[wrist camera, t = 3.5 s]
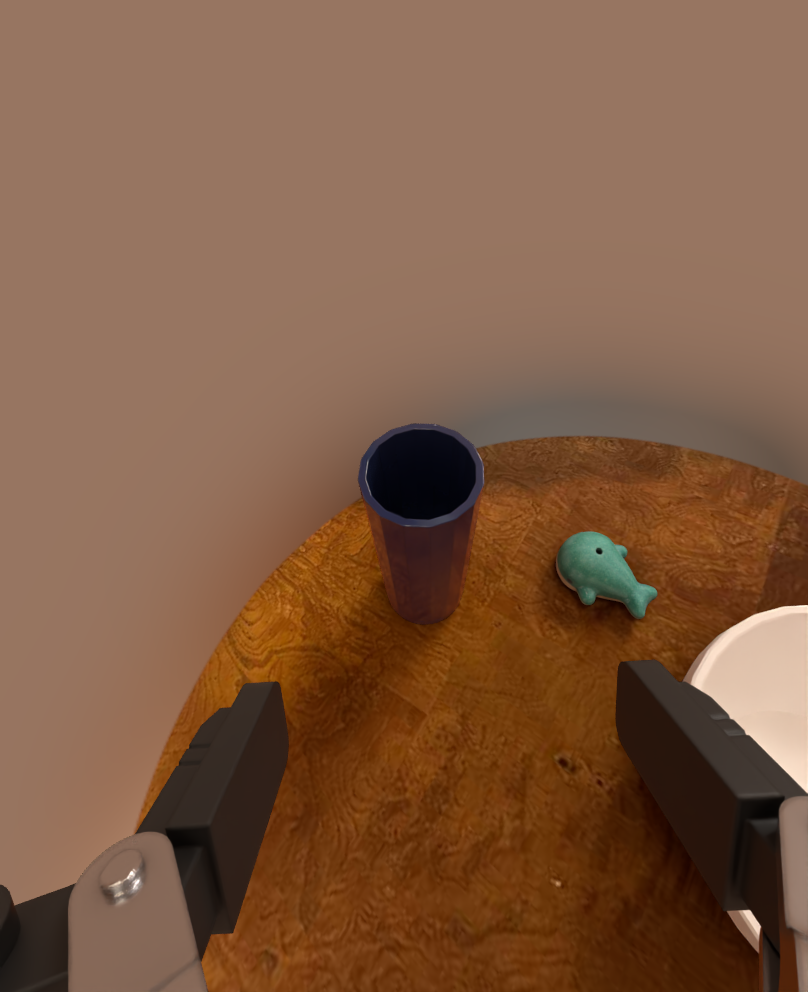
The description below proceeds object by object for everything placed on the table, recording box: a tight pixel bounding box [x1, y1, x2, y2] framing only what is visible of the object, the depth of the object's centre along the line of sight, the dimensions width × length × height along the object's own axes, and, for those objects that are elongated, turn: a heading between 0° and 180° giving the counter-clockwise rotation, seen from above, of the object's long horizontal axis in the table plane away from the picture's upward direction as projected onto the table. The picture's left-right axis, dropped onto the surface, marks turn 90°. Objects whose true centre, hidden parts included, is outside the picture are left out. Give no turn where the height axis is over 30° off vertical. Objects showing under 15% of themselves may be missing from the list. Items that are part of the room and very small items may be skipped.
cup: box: [358, 423, 484, 624], centre depth 28 cm, size 6×6×16 cm
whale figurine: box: [556, 532, 657, 619], centre depth 33 cm, size 6×7×4 cm
